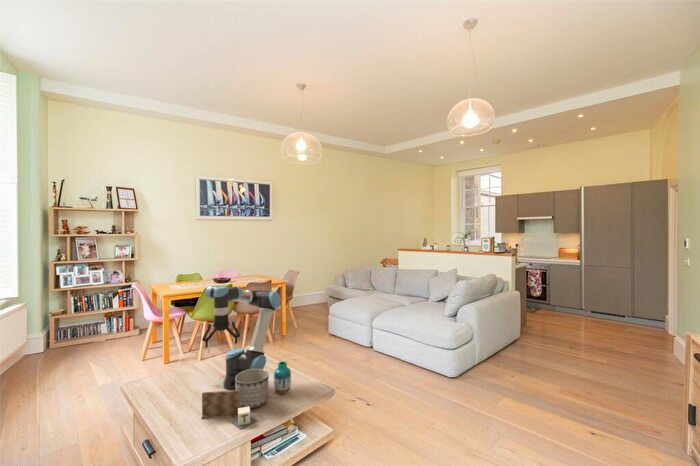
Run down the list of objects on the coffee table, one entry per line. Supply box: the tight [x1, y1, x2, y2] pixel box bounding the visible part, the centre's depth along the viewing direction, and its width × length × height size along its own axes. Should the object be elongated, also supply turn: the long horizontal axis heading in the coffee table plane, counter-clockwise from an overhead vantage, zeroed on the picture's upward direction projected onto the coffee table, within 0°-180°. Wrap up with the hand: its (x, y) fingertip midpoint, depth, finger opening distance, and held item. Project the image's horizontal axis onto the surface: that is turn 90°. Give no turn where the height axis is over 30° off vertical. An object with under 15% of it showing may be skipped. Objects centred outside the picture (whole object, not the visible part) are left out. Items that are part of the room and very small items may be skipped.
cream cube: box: [237, 406, 251, 425], centre depth 178 cm, size 6×6×6 cm
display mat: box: [230, 415, 258, 430], centre depth 178 cm, size 10×10×1 cm
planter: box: [235, 368, 270, 409], centre depth 197 cm, size 19×19×16 cm
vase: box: [273, 360, 292, 395], centre depth 209 cm, size 11×11×19 cm
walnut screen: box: [201, 390, 241, 420], centre depth 185 cm, size 20×6×13 cm, turn 97°
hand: (221, 350), depth 188 cm, fingers open, 13 cm apart
